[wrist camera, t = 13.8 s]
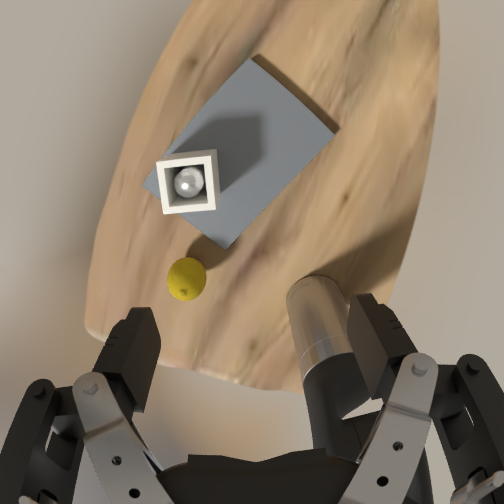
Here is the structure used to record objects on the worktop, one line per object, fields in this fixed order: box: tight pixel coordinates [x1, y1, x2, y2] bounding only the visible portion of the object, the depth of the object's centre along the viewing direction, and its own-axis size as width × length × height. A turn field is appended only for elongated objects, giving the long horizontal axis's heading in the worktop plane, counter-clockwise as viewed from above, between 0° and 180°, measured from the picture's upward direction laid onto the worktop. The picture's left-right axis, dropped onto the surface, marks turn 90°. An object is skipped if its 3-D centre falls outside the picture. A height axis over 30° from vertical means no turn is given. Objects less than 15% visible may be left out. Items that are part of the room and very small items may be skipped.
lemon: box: [167, 257, 206, 301], centre depth 41 cm, size 6×6×8 cm
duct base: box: [142, 58, 335, 250], centre depth 36 cm, size 15×22×2 cm
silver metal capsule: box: [174, 164, 206, 198], centre depth 34 cm, size 3×3×6 cm
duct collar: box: [156, 149, 221, 214], centre depth 33 cm, size 6×6×7 cm
